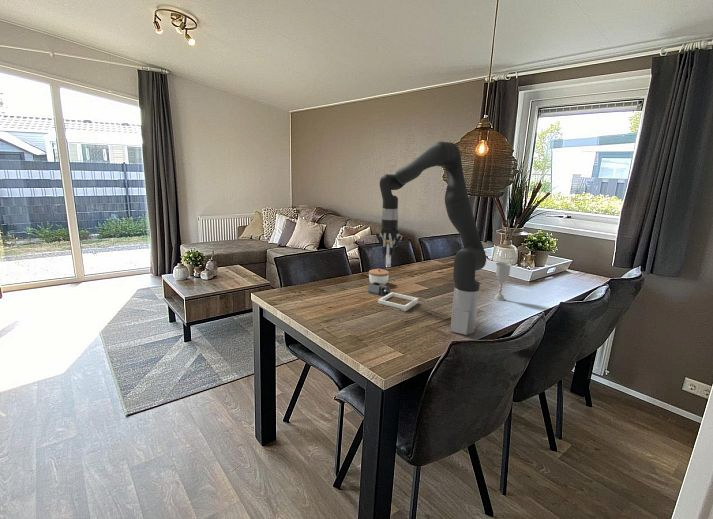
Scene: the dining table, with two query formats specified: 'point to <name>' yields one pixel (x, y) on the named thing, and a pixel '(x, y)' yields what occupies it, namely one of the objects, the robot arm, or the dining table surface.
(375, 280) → the lidded jar
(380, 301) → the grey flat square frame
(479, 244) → the robot arm
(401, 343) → the dining table surface
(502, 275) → the chalice
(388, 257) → the pin
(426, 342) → the dining table surface
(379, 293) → the block
